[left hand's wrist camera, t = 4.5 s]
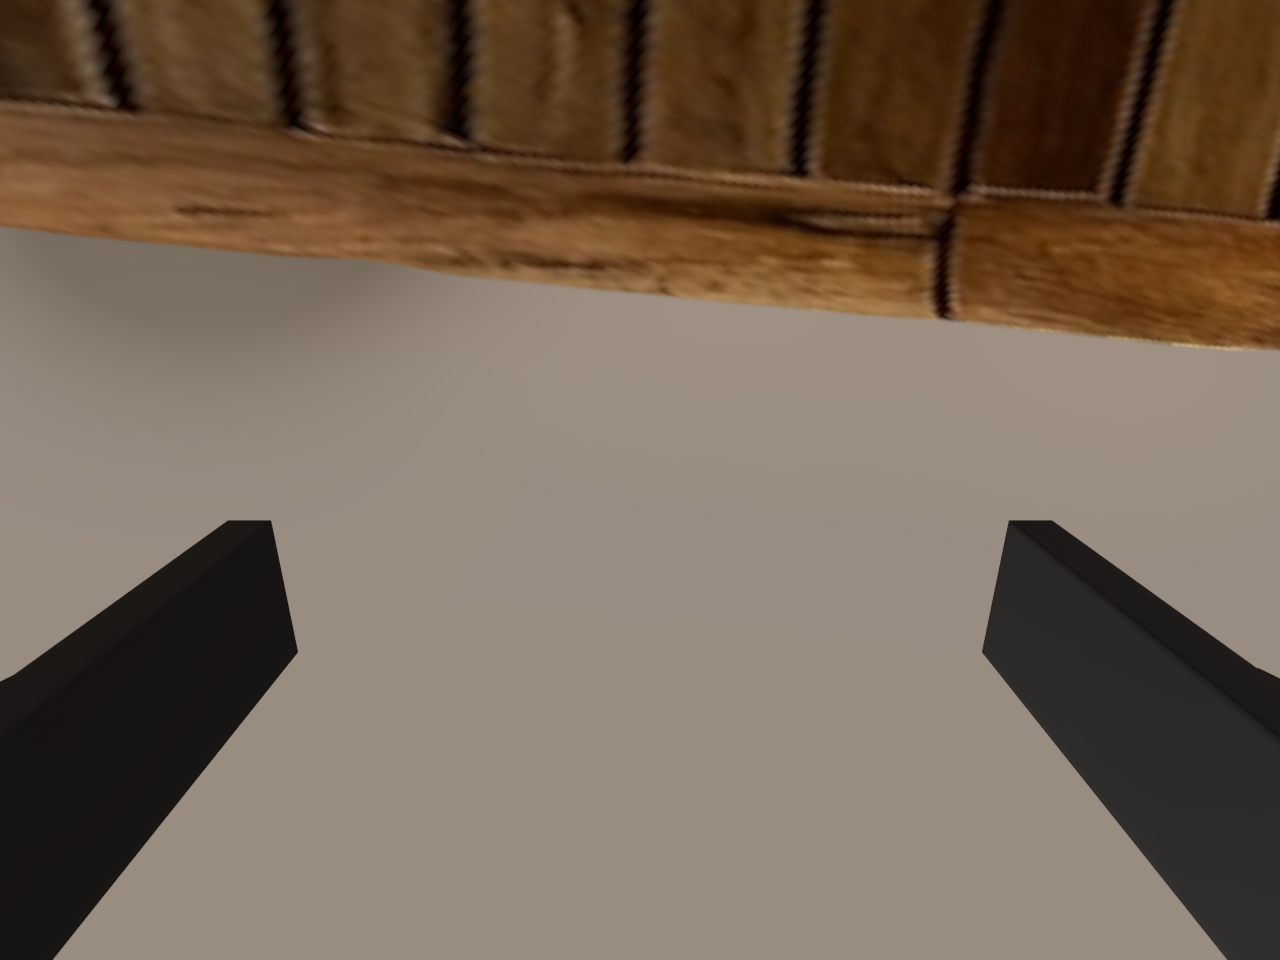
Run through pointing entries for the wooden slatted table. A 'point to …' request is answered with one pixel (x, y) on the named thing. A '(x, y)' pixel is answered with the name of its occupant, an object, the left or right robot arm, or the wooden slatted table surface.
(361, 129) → the wooden slatted table surface
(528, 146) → the wooden slatted table surface
